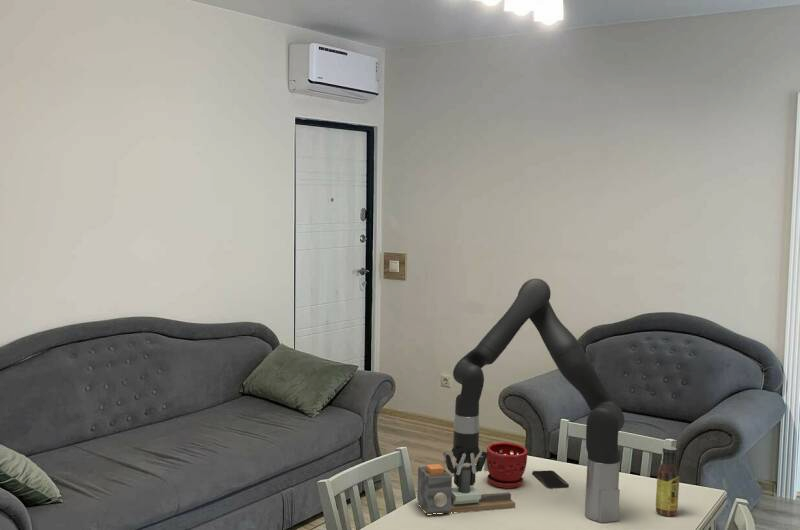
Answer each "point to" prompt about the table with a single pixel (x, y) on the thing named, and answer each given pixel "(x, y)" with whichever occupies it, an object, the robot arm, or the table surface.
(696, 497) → the table surface
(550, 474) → the phone
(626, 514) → the table surface
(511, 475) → the plant pot
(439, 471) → the button
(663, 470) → the sauce bottle
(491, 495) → the rail
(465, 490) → the mint plate with knob
